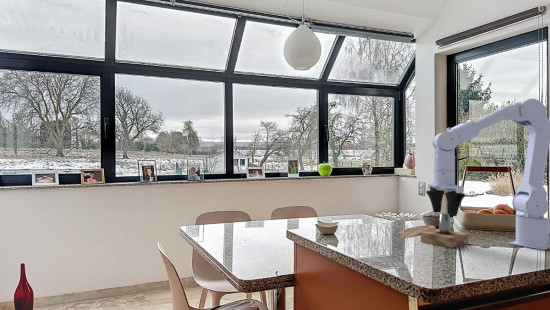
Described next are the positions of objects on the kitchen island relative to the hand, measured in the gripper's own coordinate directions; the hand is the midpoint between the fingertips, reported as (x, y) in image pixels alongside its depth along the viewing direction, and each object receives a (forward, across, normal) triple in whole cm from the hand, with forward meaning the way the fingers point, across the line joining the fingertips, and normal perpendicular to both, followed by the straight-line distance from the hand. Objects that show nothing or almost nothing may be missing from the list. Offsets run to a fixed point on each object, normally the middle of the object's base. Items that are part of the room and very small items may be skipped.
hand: (444, 214), depth 125 cm
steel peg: (+9, 0, 0) cm, 9 cm away
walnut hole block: (+9, 0, 0) cm, 9 cm away
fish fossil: (+10, -18, 0) cm, 20 cm away
